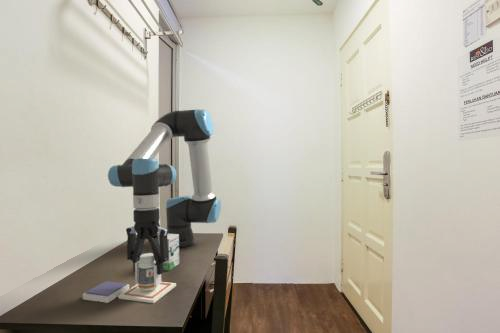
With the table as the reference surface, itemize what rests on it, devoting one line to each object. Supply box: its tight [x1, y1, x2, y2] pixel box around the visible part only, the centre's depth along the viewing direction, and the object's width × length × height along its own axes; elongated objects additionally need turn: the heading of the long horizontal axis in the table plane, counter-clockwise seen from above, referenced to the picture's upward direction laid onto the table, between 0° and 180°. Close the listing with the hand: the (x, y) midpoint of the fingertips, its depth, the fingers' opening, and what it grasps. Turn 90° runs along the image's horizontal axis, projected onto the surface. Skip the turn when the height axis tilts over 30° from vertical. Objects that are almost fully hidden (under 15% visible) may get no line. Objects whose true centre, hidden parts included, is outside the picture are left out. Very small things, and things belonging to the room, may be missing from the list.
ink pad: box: [82, 280, 130, 304], centre depth 88 cm, size 9×9×2 cm
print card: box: [117, 281, 177, 304], centre depth 89 cm, size 12×12×1 cm
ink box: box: [158, 234, 180, 272], centre depth 111 cm, size 9×5×12 cm, turn 168°
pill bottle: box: [138, 252, 157, 291], centre depth 89 cm, size 6×6×10 cm
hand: (148, 283), depth 89 cm, fingers open, 6 cm apart
